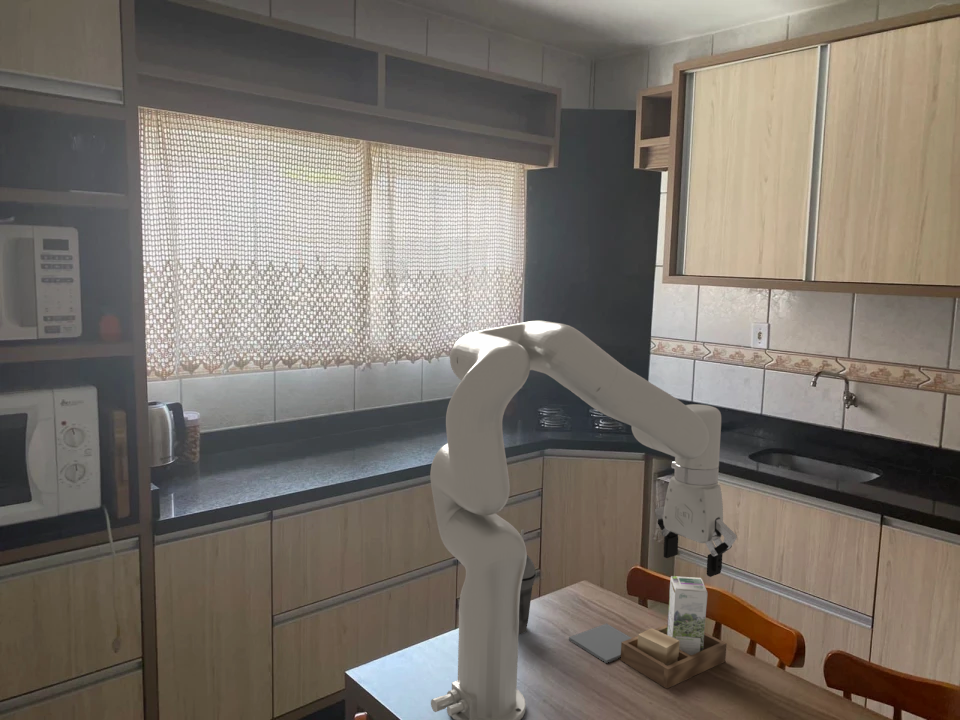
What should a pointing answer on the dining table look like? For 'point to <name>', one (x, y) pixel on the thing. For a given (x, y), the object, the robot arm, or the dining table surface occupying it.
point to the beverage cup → (526, 593)
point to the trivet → (601, 642)
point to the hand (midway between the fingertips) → (691, 565)
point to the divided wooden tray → (679, 670)
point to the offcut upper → (658, 645)
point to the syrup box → (687, 613)
